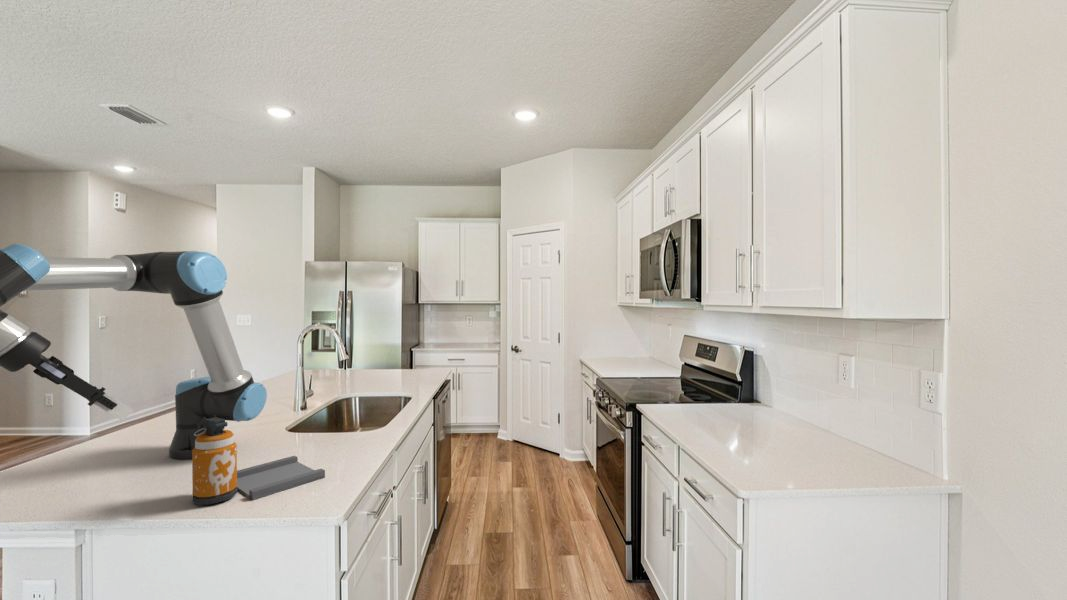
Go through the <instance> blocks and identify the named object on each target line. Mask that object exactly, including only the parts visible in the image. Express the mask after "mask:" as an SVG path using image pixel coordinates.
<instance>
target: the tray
mask: <svg viewBox="0 0 1067 600" xmlns="http://www.w3.org/2000/svg"><path fill="white" fill-rule="evenodd" d="M325 478H326V471H325V469H323V468H319V469H314V468H311V467H308V466H307V465H305V464H303V463H301V462H299V461H298V456H296V455H291V456H288V457H284V458H281V459H276V460H273V461H269V462H266V463H264V462H263V463H261V464H258V465H257V464H256V465H253V466H250V467H247V468H246V467H245V468H242V469H239V470H238V469H237V489H238V490H237V491H239V492H240V491H241V492H242V493H241V492H240V493H241V494H243V495H244V494H245V495H244V496H246V497H247V496H248V497H247V498H249V499H250V500H252V501H255V500H258V499H261V498H265V497H267V496H270V495H274V494H277V493H281V492H283V491H287V490H290V489H292V488H296V487H298V486H302V485H305V484H308V483H311V482H315V481H318V480H322V479H325Z"/></svg>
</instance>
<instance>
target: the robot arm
mask: <svg viewBox="0 0 1067 600" xmlns="http://www.w3.org/2000/svg"><path fill="white" fill-rule="evenodd" d="M227 279H228V273H227V270H226V267H225V265H224V264H223V262H222V261H221V260H220V258H218V257H217V256H216V255H214V254H212V253H210V252H207V251H198V250H197V251H196V250H187V251H156V252H146V253H137V254H136V253H135V254H115V255H113V256H112V257H110V258H106V257H105V258H100V257H54V256H53V257H51V256H49V257H48V256H43V254H41V252H39V251H38V250H36V249H34V248H32V247H31V246H28V245H25V244H22V243H21V244H20V243H14V244H10V245H8V246H6V247H4V248H1V249H0V308H1V307H2V306H4V305H5V304H7V303H8V302H9V301H11V300H12V299H14V298H15V297H16V296H19V294H22V292H25V291H26V292H27V291H52V290H55V291H56V290H82V289H83V290H85V289H111V288H112V289H113V290H115V291H118V292H142V293H151V294H152V293H154V294H164V295H165V294H166V295H168V294H169V295H170V296H171V298H172V302H173V304H174V306H176V307H179V308H181V309H182V310H184V313H185V316H186V319H187V321H188V323H189V327H190V329H191V331H192V334H193V337H194V340H195V342H196V345H197V347H198V350H199V353H200V355H201V356H202V360H203V363H204V365H205V368H206V371H207V373H208V375H209V376H205V377H197V378H193V379H188V380H183V381H180V382H179V383H178V384H176V387H175V395H174V398H175V399H174V403H175V425H176V426H175V432H174V435H173V437H172V440H171V443H170V446H169V449H168V456H169V458H171V459H175V460H192V450H193V449H194V448H195V439H196V437H197V436H194V433H195V432H196V431H198V428H197V424H198V423H199V422H200V421H201V420H202V419H203V418H204V417H205V418H206V419H210V418H212V417H213V415H215V416H216V417H217V418H220V419H225V421H229V422H231V421H233V422H237V423H238V422H249V421H251V420H252V421H253V420H254V419H256V418H257V417H258V416H259V415H260V414H261V413H262V411H263V409H264V408H265V405H266V402H267V399H268V398H267V396H268V395H267V394H268V392H267V389H266V387H265V386H264V384H262V383H260V382H255V381H254V378H253V376H252V373H251V371H249V370H245V369H244V367H243V364H242V361H241V359H240V356H239V354H238V350H237V347H236V345H235V342H234V339H233V336H232V333H231V330H230V327H229V325H228V321H227V319H226V316H225V314H224V313H225V312H224V311H223V308H222V304H221V301H220V299H221V297H222V296H223V295H224V292H223V289H224V288H225V287H226V284H227V282H226V280H227ZM29 330H30V327H29V326H27V324H25V323H23V322H21V321H20V320H18V319H17V318H16V317H13V316H12V315H10V314H8V313H7V312H5V311H3V310H2V309H0V367H1V368H3V369H4V370H7V371H8V372H10V373H15V372H18V371H20V370H22V369H24V368H25V367H26V366H27V365H31V366H32V367H34V368H35V369H33V371H32V372H33V373H34V374H35V375H37V376H39V377H41V378H43V379H47V380H49V381H50V382H52V383H54V384H55V385H63V386H64V387H66V388H67V389H69V390H71V391H72V392H74V393H76V394H77V395H79V396H81V397H82V398H84V399H86V400H87V401H88V403H87V405H88V406H90V407H91V406H93V405H95V406H97V407H98V408H100V409H102V410H104V411H105V412H107V414H108V413H109V414H111V416H113V417H115V418H117V419H118V420H120V421H122V422H123V421H124V420H126V418H128V416H130V415H131V414H132V413H133V412H134V410H135V409H133V408H131V407H130V406H128V405H126V404H124V403H123V402H121V401H119V400H118V399H117V398H114V397H113V396H112V395H110V394H108V393H107V392H106V391H105V390H106V388H105V387H104V386H102V387H101V388H98V387H97V386H95V385H94V386H93V385H92V384H91V383H89V382H87V381H85V380H84V379H83V378H81V377H79V376H78V375H76V374H75V371H74V370H73V369H72V368H70V367H68V366H67V365H66V364H64V363H63V361H61V360H60V359H58V358H57V357H55V356H54V355H52V356H50V357H49V358H47V357H46V356H45V355H43V353H45V352H46V351H47V350H48V349H49V348H50V346H51V345H52V342H51V341H50V340H49V339H47V338H45V337H44V336H42V335H41V334H40V333H38V332H37V331H31V332H30V331H29ZM201 428H203V424H202V425H201V426H200V429H201ZM223 430H225V428H224V429H223ZM205 432H206V431H205ZM205 432H204V433H205ZM195 435H198V432H197V433H196V434H195Z"/></svg>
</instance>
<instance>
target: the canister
mask: <svg viewBox="0 0 1067 600" xmlns="http://www.w3.org/2000/svg"><path fill="white" fill-rule="evenodd" d="M202 424H203V428H201V429H200V426H201V425H202ZM228 425H229V424H228V422H227V421H226V420H225V419H220V418H217V417H216V416H215V415H213V417H212V418H210V419H206V418H205V417H204V418H203V419H202V420H201V421H200V422H199V423H198V424H197V428H198V431H196V432H195V433H194V436H197V437H196V439H195V448H194V449H193V450H192V459H191V460H192V461H191V463H192V466H191V467H192V469H191V470H192V474H191V475H192V503H194V504H197V505H203V504H204V505H205V506H207V505H209V504H210V505H215V503H216V504H219V502H220V503H222V501H223V502H225V501H227V500H229V499H231V498H233V497H234V496H236V494H237V493H238V490H237V471H238V456H237V455H238V450H237V449H238V444H237V442H235V435H234V432H233V431H232V430H228V429H225V427H228ZM223 429H224V430H223ZM205 431H206V432H205ZM197 432H198V435H195V434H196V433H197ZM204 432H205V433H204Z"/></svg>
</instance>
